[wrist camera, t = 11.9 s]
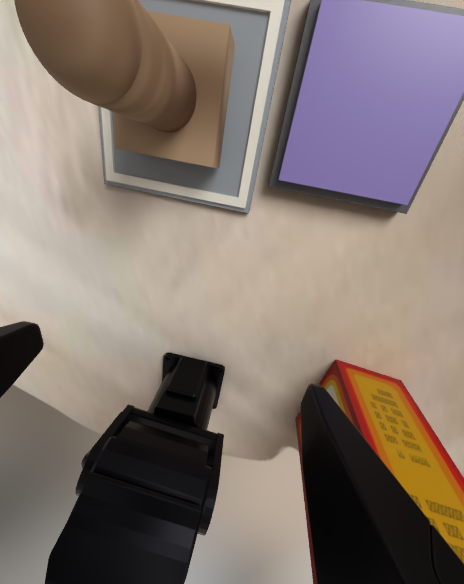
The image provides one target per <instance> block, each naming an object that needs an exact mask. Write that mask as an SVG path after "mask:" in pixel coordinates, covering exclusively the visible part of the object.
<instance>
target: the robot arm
mask: <svg viewBox="0 0 464 584" xmlns="http://www.w3.org/2000/svg"><path fill="white" fill-rule="evenodd" d="M43 344H44V343H43V339H42V335H41V331H40V328H39V326H38V325H37V324H35V323H31V322H19V323H15V324H11V325H7V326H3V327H0V397H1V396H2V395H3V394H4V393H5V392H6V391H7V390H8V389H9V388H10V387H11V386H12V384H13V383H14V382H15V381H16V380H17V378H18V377H19V376H20V375H21V374H22V373H23V371H24V370H25V369H26V368H27V367H28V366H29V364H30V363H31V362H32V361H33V360H34V358H35V357H36V356H37V355H38V354H39V353H40V351H41V350H42V348H43ZM168 357H169V358H168ZM219 369H220V370H219ZM224 372H225V367H224V366H223V365H220V364H215V363H211V362H207V361H203V360H198V359H194V358H190V357H186V356H182V355H177V354H173V353H166V354H165V355H164V358H163V378H162V384H161V386H160V388H159V390H158V392H157V394H156V396H155V397H154V399H153V401H152V403H151V405H150V407H149V409H148V411H144V410H141V409H137V408H134V406H132V405H129V404H128V405H127V407H126V408H125V409H124V410H123V412H121V413H120V414H119V415H118V416H117V418H116V419H115V420H114V421H113V423H112V424H111V425H110V426H109V428H108V429H107V430H106V431H105V433H104V434H103V435H102V437H101V438H100V439H99V440H98V441H97V443H96V444H95V445H94V446H93V448H92V449H91V450H90V451H89V452H88V453H87V454H86V455H85V457H84V459H83V460H82V469H83V470H82V472H81V475H80V477H79V480H78V483H77V487H76V495H78V496H79V497H78V499H77V501H76V504H75V506H74V508H73V510H72V512H71V515H70V517H69V519H68V521H67V523H66V525H65V527H64V529H63V531H62V533H61V534H60V536H59V538H58V540H57V542H56V544H55V546H54V548H53V550H52V552H51V554H50V557H49V560H48V567H47V573H46V579H45V584H184V582H185V579H186V576H187V572H188V568H189V565H190V561H191V557H192V553H193V549H194V545H195V541H196V537H197V534H201V535H205V534H206V532H207V530H208V527H209V524H210V521H211V517H212V513H213V510H214V505H215V501H216V495H217V490H218V484H219V476H220V467H221V457H222V447H223V438H224V435H223V434H220V433H217V434H216V433H213V432H210V431H207V428H208V424H209V419H210V415H211V411H212V409H215V408H216V407H217V404H218V399H219V395H220V390H221V386H222V381H223V376H224ZM301 443H302V465H303V475H304V483H305V491H306V498H307V506H308V514H309V522H310V530H311V538H312V546H313V554H314V562H315V570H316V578H317V584H464V563H463V562H462V560H461V559H460V558H459V557H458V555H457V554H456V553H455V552H454V550H453V549H452V548H451V547H450V545H449V544H448V543H447V542H446V540H445V539H444V538H443V537H442V535H441V534H440V533H439V532H438V530H437V529H436V528H435V527H434V526H433V525H430V521H429V519H428V518H427V517H426V515H425V514H424V513H423V512H422V510H421V509H420V508H419V507H418V505H417V504H416V503H415V501H414V500H413V499H412V498H411V496H410V495H409V494H408V493H407V491H406V490H405V489H404V488H403V486H402V485H401V484H400V482H399V481H398V480H397V479H396V477H395V476H394V475H393V474H392V472H391V471H390V470H389V469H388V467H387V466H386V465H385V464H384V462H383V461H382V460H381V458H380V457H379V456H378V455H377V453H376V452H375V451H374V450H373V448H372V447H371V446H370V445H369V443H368V442H367V441H366V440H365V438H364V437H363V436H362V434H361V433H360V432H359V431H358V429H357V428H356V427H355V426H354V424H353V423H352V422H351V421H350V419H349V418H348V417H347V416H346V414H345V413H344V412H343V410H342V409H341V408H340V407H339V405H338V404H337V403H336V402H335V400H334V399H333V398H332V397H331V395H330V394H329V393H328V391H327V390H326V389H325V388H324V387H323V386H319V385H315V384H310V385H309V386H308V388H307V390H306V393H305V395H304V397H303V400H302V403H301Z"/></svg>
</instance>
